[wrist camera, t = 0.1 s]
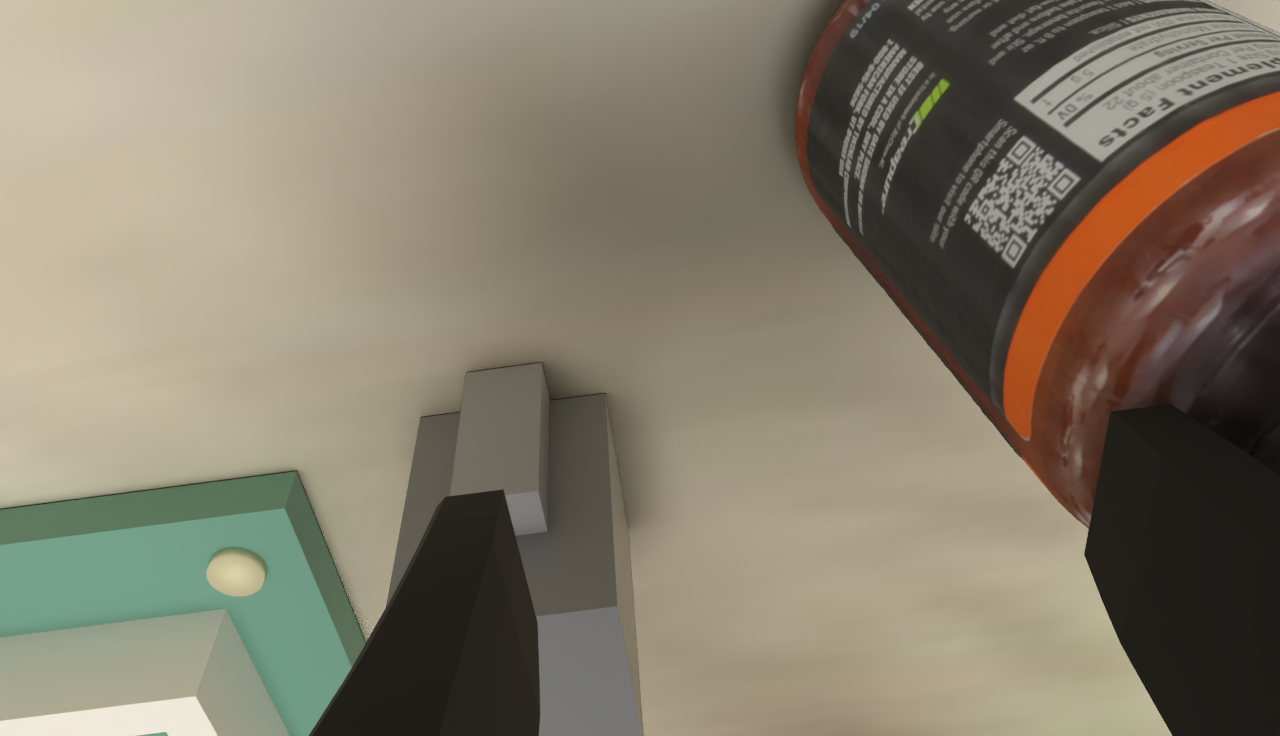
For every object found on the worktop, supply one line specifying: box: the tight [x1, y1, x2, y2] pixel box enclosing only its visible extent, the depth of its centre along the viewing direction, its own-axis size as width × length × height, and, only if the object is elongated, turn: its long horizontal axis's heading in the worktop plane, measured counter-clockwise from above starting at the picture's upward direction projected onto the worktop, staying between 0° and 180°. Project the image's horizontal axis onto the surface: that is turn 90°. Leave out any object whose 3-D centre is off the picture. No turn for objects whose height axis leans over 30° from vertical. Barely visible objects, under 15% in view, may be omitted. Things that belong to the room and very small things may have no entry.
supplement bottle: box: [795, 0, 1280, 528], centre depth 14 cm, size 6×6×11 cm
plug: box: [386, 363, 644, 736], centre depth 21 cm, size 5×4×6 cm
